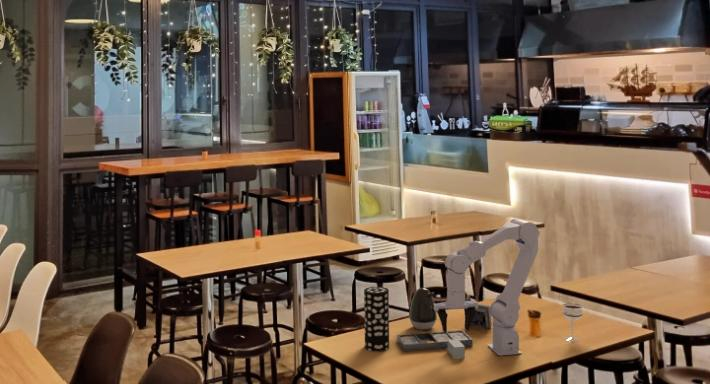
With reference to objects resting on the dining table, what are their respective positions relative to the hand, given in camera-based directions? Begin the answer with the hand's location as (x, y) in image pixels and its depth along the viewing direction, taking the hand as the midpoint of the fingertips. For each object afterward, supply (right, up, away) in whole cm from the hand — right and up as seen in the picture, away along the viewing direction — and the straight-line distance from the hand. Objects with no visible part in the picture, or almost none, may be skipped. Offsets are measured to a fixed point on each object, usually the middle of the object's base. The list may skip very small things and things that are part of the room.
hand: (455, 330), depth 202 cm
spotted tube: (-26, -8, +9) cm, 28 cm away
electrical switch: (+13, -5, +27) cm, 31 cm away
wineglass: (+43, -6, +13) cm, 45 cm away
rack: (-6, -7, +11) cm, 14 cm away
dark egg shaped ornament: (-8, -5, +28) cm, 29 cm away
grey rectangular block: (0, -8, +1) cm, 8 cm away
